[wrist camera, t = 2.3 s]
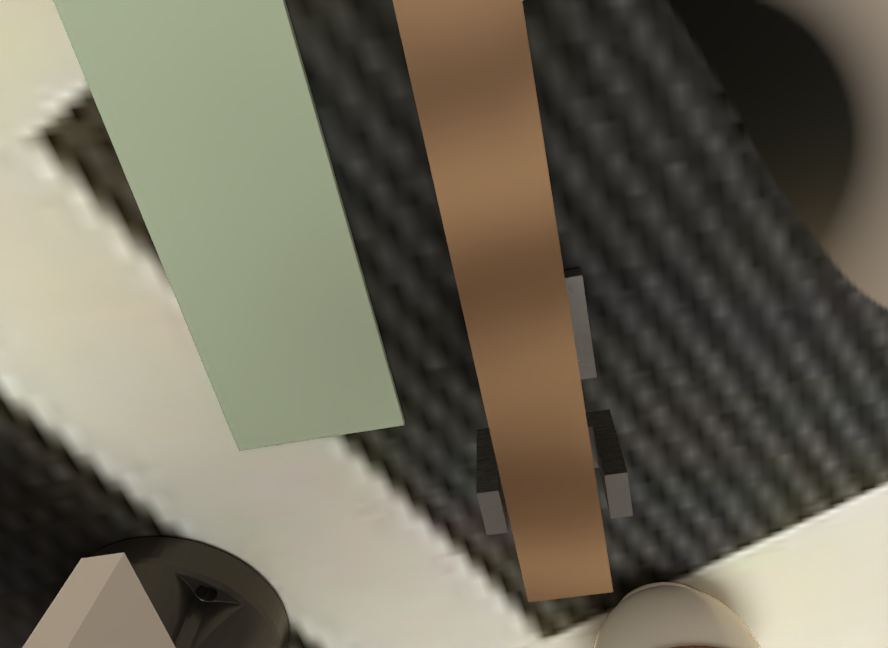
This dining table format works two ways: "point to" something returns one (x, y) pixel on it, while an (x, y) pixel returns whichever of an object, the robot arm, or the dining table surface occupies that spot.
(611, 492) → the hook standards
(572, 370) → the walnut bar
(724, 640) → the lidded jar
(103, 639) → the robot arm
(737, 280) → the dining table surface
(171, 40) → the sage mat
